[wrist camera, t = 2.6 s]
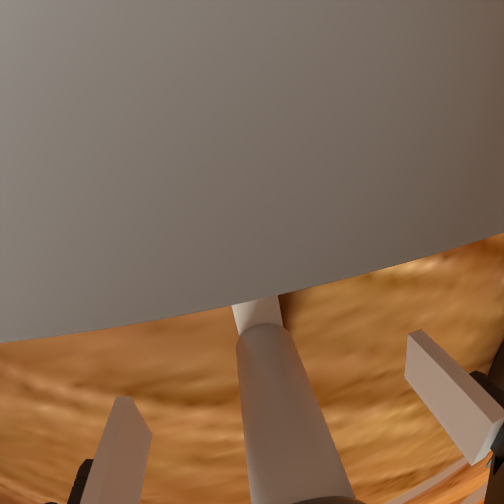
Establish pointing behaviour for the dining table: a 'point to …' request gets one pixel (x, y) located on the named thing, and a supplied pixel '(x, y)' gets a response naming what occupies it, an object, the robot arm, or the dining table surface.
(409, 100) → the tunnel
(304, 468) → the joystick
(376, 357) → the dining table surface
